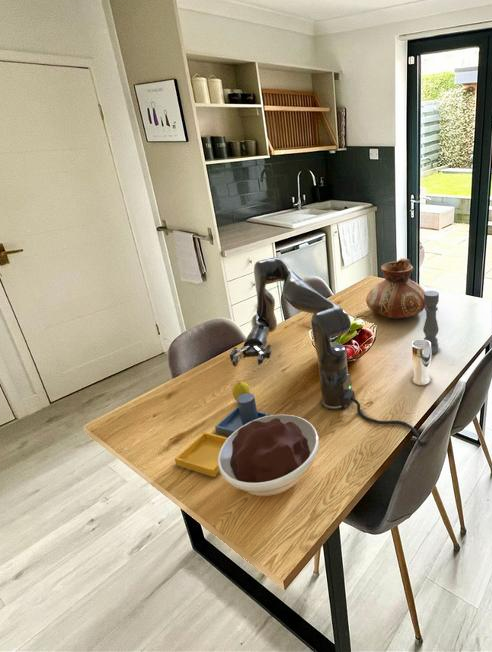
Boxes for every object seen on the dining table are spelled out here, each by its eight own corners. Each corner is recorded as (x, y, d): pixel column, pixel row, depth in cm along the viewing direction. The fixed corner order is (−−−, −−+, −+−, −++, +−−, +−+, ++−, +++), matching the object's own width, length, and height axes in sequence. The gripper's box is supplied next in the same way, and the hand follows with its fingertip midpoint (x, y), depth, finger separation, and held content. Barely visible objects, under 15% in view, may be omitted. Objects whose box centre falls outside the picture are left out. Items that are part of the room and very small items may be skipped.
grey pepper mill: (421, 352, 161) (421, 295, 151) (425, 345, 166) (425, 289, 156) (435, 355, 158) (437, 297, 149) (439, 347, 164) (441, 291, 154)
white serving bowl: (278, 428, 121) (271, 387, 115) (341, 462, 108) (336, 417, 102) (204, 484, 103) (191, 438, 97) (268, 533, 89) (258, 484, 83)
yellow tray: (242, 447, 114) (240, 441, 113) (214, 477, 105) (212, 470, 104) (206, 437, 119) (204, 431, 118) (176, 465, 109) (174, 458, 108)
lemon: (246, 408, 131) (242, 387, 128) (231, 406, 132) (227, 386, 129) (255, 398, 136) (251, 378, 133) (240, 396, 137) (236, 376, 134)
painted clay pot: (429, 324, 184) (430, 273, 174) (365, 326, 184) (362, 275, 175) (424, 299, 211) (424, 254, 202) (368, 301, 212) (365, 256, 202)
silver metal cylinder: (433, 377, 144) (434, 340, 138) (427, 387, 138) (427, 350, 132) (415, 373, 147) (415, 337, 141) (408, 383, 141) (408, 346, 135)
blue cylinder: (262, 418, 126) (257, 394, 122) (252, 428, 121) (247, 404, 118) (248, 415, 127) (244, 391, 124) (238, 425, 123) (233, 401, 119)
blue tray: (270, 419, 125) (269, 413, 125) (249, 441, 117) (248, 435, 116) (238, 412, 129) (237, 406, 128) (216, 432, 121) (215, 426, 120)
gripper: (235, 334, 154) (224, 355, 139) (273, 331, 155) (265, 352, 140) (239, 351, 157) (228, 373, 142) (275, 348, 158) (268, 370, 143)
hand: (246, 363), depth 141 cm, fingers open, 8 cm apart
